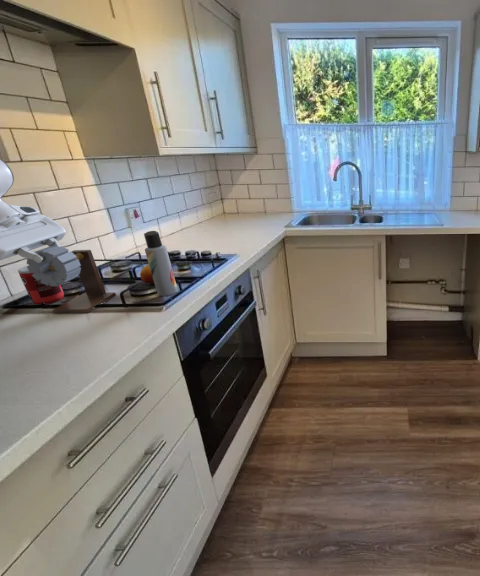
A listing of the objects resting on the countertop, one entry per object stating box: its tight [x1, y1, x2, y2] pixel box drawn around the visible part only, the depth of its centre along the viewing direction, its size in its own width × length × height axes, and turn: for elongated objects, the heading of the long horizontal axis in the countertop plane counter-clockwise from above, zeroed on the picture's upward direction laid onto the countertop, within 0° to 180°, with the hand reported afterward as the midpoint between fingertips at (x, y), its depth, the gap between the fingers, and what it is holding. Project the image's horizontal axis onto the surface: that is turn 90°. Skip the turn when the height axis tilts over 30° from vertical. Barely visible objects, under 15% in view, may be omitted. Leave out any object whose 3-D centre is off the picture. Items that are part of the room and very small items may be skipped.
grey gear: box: [26, 245, 81, 286], centre depth 99 cm, size 10×5×10 cm, turn 91°
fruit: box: [139, 263, 155, 285], centre depth 124 cm, size 8×8×8 cm
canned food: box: [17, 265, 65, 306], centre depth 111 cm, size 8×8×11 cm
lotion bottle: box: [143, 230, 178, 297], centre depth 112 cm, size 6×6×20 cm
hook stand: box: [49, 249, 117, 315], centre depth 106 cm, size 10×12×16 cm
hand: (53, 256), depth 98 cm, fingers closed on grey gear, 5 cm apart
